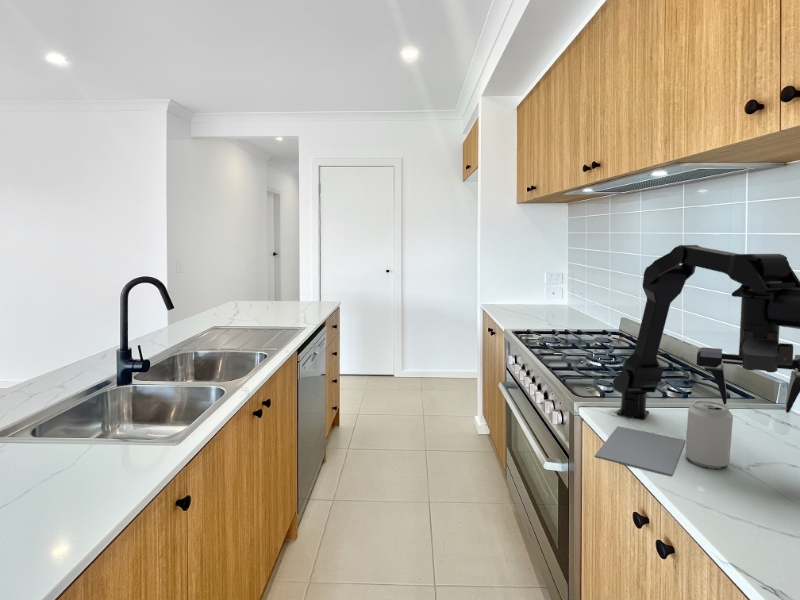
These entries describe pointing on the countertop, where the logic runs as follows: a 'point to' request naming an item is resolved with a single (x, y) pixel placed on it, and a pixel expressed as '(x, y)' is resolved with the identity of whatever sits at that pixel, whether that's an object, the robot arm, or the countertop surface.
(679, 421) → the countertop surface
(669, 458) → the mat
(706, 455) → the can
